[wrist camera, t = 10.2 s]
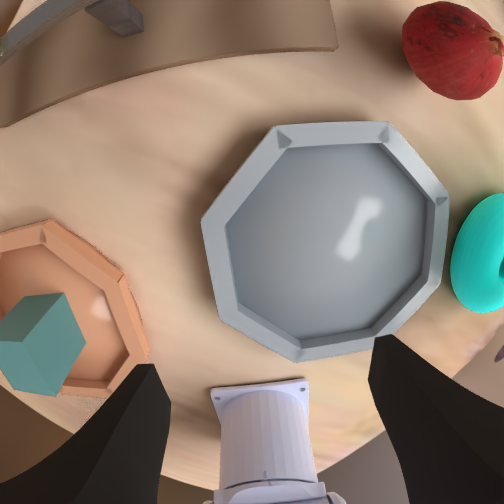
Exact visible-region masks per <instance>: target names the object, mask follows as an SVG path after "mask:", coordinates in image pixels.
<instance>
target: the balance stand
mask: <svg viewBox="0 0 504 504" xmlns="http://www.w3.org/2000/svg"><path fill="white" fill-rule="evenodd" d="M337 48H338V42H337V36H336V30H335V25H334V20H333V15H332V10H331V5H330V1H329V0H99V1H97V2H95V3H93V4H91V5H89V6H87V7H85V8H83V9H82V10H80V11H78V12H76V13H75V14H73V15H71V16H70V17H68V18H66V19H65V20H63V21H61V22H60V23H58V24H57V25H55V26H53V27H52V28H50V29H49V30H47V31H46V32H44V33H43V34H42V35H40V36H39V37H37V38H36V39H34V40H33V41H32V42H30V43H29V44H28V45H26V46H25V47H24V48H22V49H21V50H20V51H18V52H17V53H16V54H15V55H13V56H12V57H11V58H10V59H8V60H7V61H6V62H5V63H4V64H2V65H1V66H0V128H1V127H8V126H10V125H12V124H14V123H16V122H17V121H19V120H21V119H23V118H25V117H28V116H30V115H32V114H34V113H36V112H38V111H40V110H43V109H45V108H47V107H49V106H52V105H54V104H56V103H59V102H61V101H63V100H66V99H68V98H71V97H74V96H76V95H79V94H81V93H84V92H87V91H90V90H93V89H95V88H98V87H101V86H104V85H107V84H110V83H114V82H117V81H120V80H123V79H127V78H130V77H134V76H138V75H141V74H145V73H149V72H153V71H157V70H161V69H166V68H170V67H175V66H179V65H184V64H189V63H195V62H200V61H206V60H213V59H219V58H226V57H234V56H242V55H252V54H263V53H277V52H300V51H335V50H336V49H337Z"/></svg>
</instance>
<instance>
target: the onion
mask: <svg viewBox="0 0 504 504" xmlns="http://www.w3.org/2000/svg"><path fill="white" fill-rule="evenodd" d="M402 48H403V51H404V53H405V56H406V59H407V62H408V64H409V65H410V67H411V68H412V70H413V71H414V73H415V74H416V76H417V77H418V78H419V79H420V80H421V81H422V82H423V83H424V84H425V85H427V86H428V87H429V88H430V89H431V90H432V91H433V92H435V93H438V94H440V95H442V96H444V97H447V98H449V99H454V100H472V99H476V98H480V97H481V96H482V95H484V94H485V93H486V92H487V91H489V90H490V89H491V88H492V87H494V85H495V84H496V82H497V80H498V78H499V75H500V73H501V70H502V64H503V58H502V56H504V36H502V35H501V34H500V33H498V32H497V31H495V30H493V29H492V28H491V26H490V25H489V24H488V22H487V21H486V20H484V19H483V18H482V17H480V16H479V15H478V14H476V13H474V12H473V11H471V10H470V9H469V8H467V7H464V6H461V5H457V4H454V3H450V2H445V1H438V2H434V3H431V4H427V5H424V6H421V7H417V8H416V9H415V10H414V11H413V12H412V13H411V14H410V15H409V17H408V18H407V20H406V21H405V23H404V24H403V28H402Z"/></svg>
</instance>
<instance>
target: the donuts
mask: <svg viewBox="0 0 504 504" xmlns="http://www.w3.org/2000/svg"><path fill="white" fill-rule="evenodd" d="M450 276H451V283H452V287H453V291H454V293H455V295H456V297H457V299H458V300H459V302H460V303H461V304H462V305H463V306H464V307H466V308H467V309H469V310H471V311H473V312H478V313H487V312H492V311H495V310H497V309H499V308H501V307H503V306H504V193H497V194H494V195H491V196H489V197H487V198H485V199H484V200H482V201H481V202H480V203H479V204H478V205H477V206H476V207H475V208H474V209H473V210H472V211H471V212H470V214H469V215H468V217H467V218H466V220H465V221H464V223H463V225H462V227H461V229H460V231H459V233H458V235H457V238H456V241H455V244H454V247H453V251H452V256H451V264H450Z"/></svg>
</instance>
